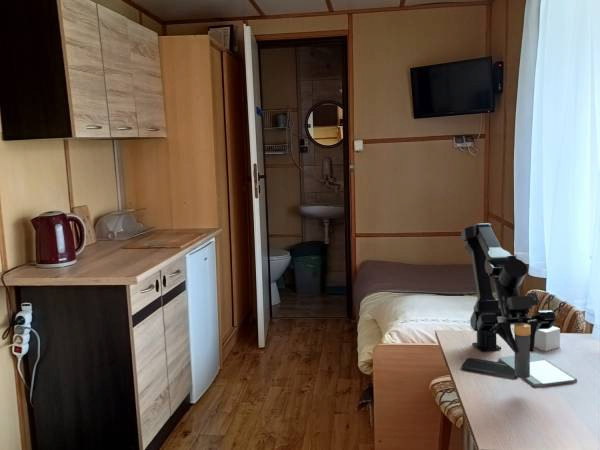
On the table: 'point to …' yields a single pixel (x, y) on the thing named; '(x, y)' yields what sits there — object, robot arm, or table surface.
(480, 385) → the table surface
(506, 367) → the phone
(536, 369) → the writing board
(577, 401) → the table surface
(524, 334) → the grey cylinder
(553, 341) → the white cube
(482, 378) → the table surface
